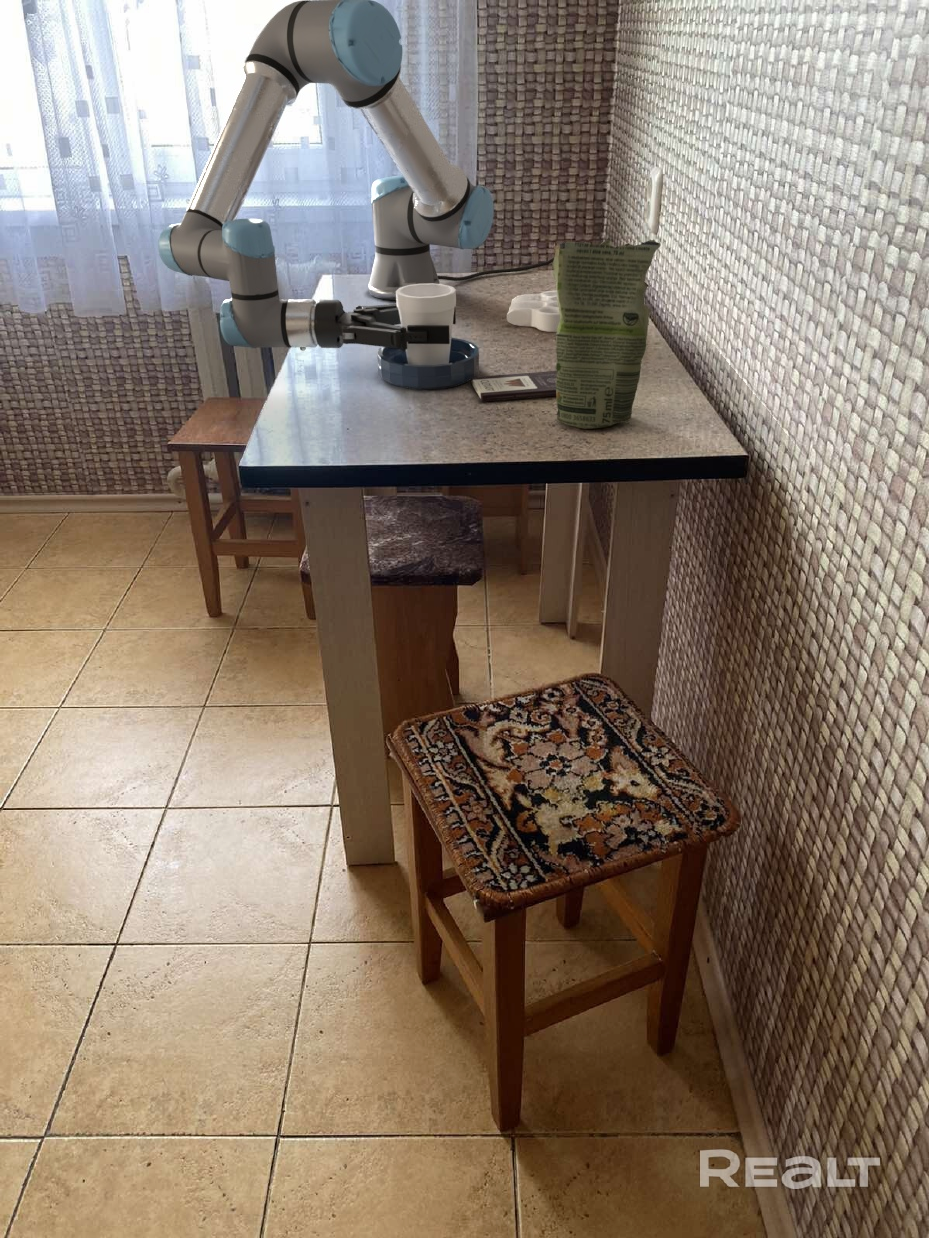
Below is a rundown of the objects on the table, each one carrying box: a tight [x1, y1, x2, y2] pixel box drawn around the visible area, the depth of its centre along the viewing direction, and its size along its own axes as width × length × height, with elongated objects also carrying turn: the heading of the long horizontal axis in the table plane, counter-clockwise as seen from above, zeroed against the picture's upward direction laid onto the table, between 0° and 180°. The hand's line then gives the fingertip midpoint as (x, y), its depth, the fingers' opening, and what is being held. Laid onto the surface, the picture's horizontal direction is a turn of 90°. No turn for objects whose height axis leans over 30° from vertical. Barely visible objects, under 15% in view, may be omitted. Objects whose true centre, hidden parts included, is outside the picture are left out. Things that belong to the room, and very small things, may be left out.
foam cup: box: [395, 283, 457, 365], centre depth 153 cm, size 10×9×13 cm
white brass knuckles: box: [506, 289, 560, 333], centre depth 183 cm, size 3×18×15 cm
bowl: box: [376, 337, 480, 390], centre depth 155 cm, size 17×17×4 cm
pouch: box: [551, 237, 661, 430], centre depth 131 cm, size 11×12×25 cm
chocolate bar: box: [470, 370, 557, 403], centre depth 149 cm, size 9×1×18 cm
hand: (452, 324), depth 152 cm, fingers open, 11 cm apart
